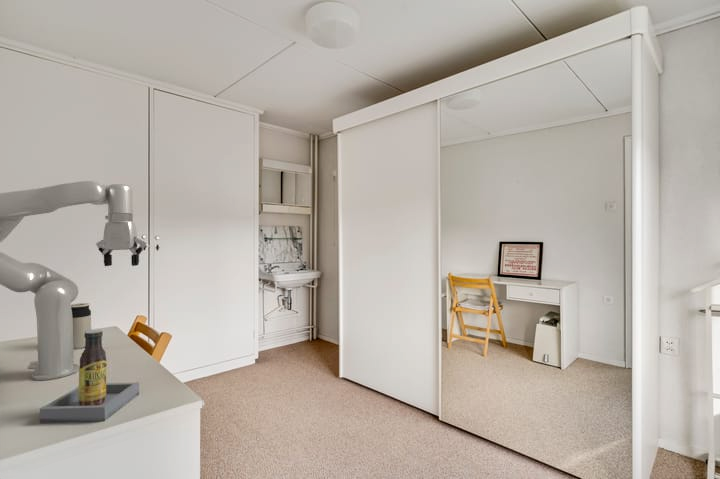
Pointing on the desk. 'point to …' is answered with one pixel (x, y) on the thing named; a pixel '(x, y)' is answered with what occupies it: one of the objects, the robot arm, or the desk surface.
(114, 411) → the tray
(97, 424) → the desk surface
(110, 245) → the robot arm
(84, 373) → the sauce bottle
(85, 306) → the travel mug
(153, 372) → the desk surface
